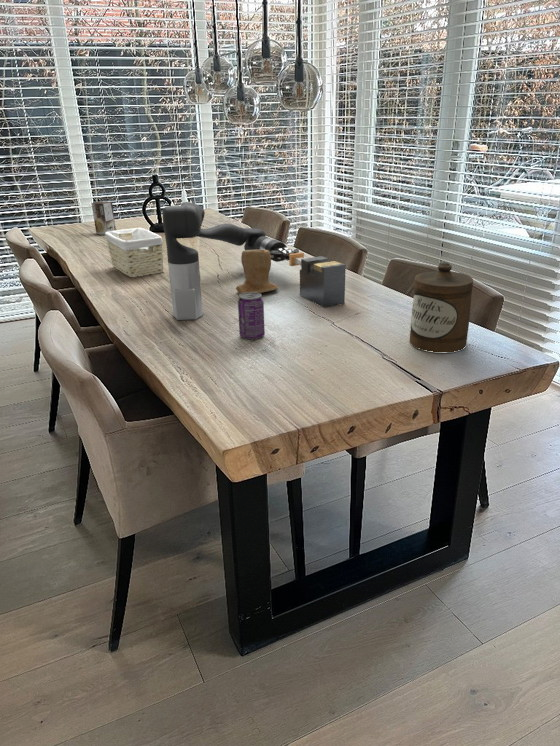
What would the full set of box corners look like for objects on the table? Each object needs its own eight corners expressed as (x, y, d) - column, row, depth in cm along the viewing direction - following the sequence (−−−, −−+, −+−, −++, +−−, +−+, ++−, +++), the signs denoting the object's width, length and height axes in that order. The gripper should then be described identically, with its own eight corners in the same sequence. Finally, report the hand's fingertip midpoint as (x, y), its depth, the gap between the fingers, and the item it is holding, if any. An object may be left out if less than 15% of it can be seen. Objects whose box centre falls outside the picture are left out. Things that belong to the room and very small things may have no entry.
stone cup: (264, 284, 209) (263, 243, 203) (282, 292, 200) (281, 249, 194) (227, 291, 202) (225, 249, 196) (244, 300, 193) (242, 256, 187)
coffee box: (117, 233, 303) (112, 201, 296) (107, 235, 298) (103, 203, 291) (105, 231, 308) (100, 200, 301) (95, 233, 303) (90, 202, 296)
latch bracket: (299, 295, 196) (299, 257, 191) (319, 291, 200) (320, 254, 194) (323, 307, 184) (324, 267, 178) (344, 303, 187) (345, 264, 182)
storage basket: (167, 273, 227) (163, 235, 221) (127, 280, 219) (122, 241, 213) (145, 261, 245) (141, 226, 239) (108, 267, 237) (103, 231, 231)
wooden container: (398, 344, 155) (404, 263, 146) (428, 329, 164) (436, 253, 155) (447, 358, 145) (457, 273, 136) (476, 343, 154) (487, 262, 145)
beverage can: (251, 330, 167) (249, 290, 162) (269, 335, 162) (268, 294, 157) (234, 337, 162) (232, 296, 157) (253, 342, 158) (251, 300, 152)
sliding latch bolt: (289, 265, 202) (289, 254, 200) (301, 263, 204) (301, 252, 202) (314, 276, 188) (314, 264, 186) (327, 274, 190) (328, 262, 188)
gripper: (257, 241, 212) (278, 250, 198) (288, 237, 217) (311, 246, 203) (257, 261, 215) (279, 271, 201) (288, 257, 220) (311, 266, 206)
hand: (295, 258), depth 202 cm, fingers closed
